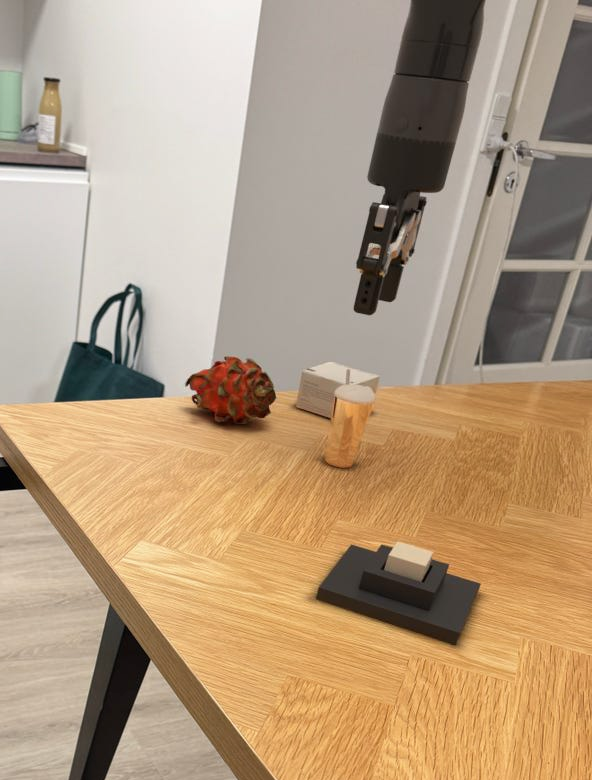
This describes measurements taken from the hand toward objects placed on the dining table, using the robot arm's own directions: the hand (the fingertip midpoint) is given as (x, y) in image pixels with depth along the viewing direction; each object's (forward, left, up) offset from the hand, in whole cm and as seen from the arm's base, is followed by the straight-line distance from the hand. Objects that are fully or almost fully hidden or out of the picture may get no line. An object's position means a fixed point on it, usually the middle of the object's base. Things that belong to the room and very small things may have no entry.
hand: (374, 306), depth 95 cm
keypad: (-14, +28, -18) cm, 36 cm away
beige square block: (-14, +28, -15) cm, 35 cm away
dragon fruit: (+16, -4, -18) cm, 24 cm away
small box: (+6, -18, -18) cm, 26 cm away
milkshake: (0, 0, -18) cm, 18 cm away
